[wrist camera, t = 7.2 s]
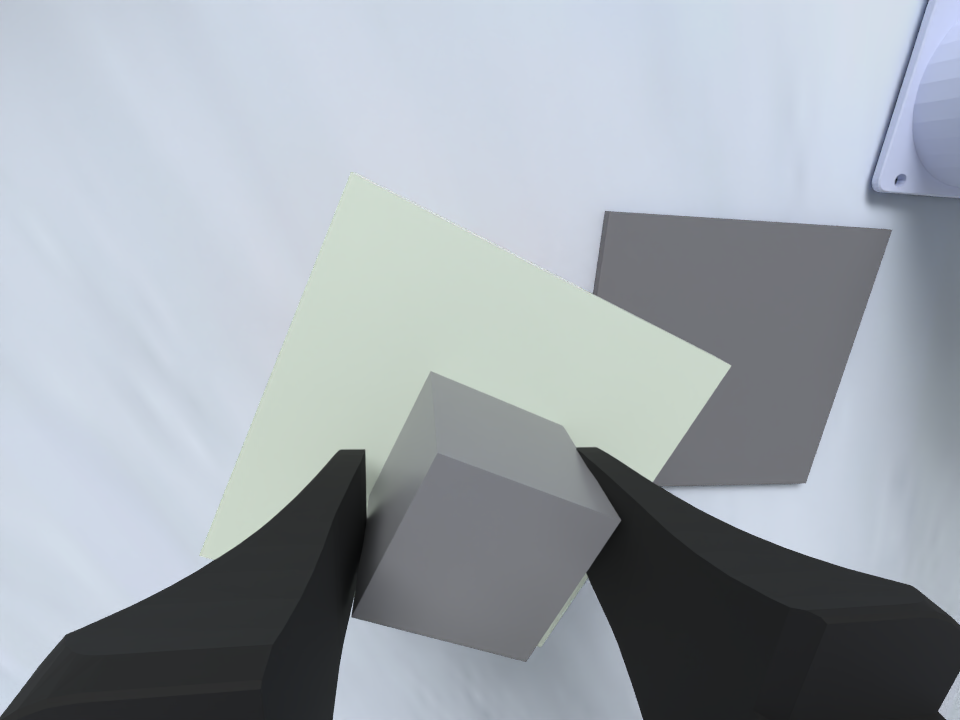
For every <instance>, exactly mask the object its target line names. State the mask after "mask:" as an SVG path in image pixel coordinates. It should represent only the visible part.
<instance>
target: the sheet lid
mask: <svg viewBox="0 0 960 720" xmlns="http://www.w3.org/2000/svg"><path fill="white" fill-rule="evenodd" d="M730 367H731V365H729V364H728V363H726V362H724V361H722V360H721V359H719V358H717V357H715V356H714V355H712V354H710V353H708V352H706V351H704V350H702V349H700V348H698V347H696V346H694V345H692V344H690V343H688V342H686V341H684V340H682V339H680V338H678V337H676V336H674V335H672V334H670V333H668V332H666V331H664V330H663V329H661V328H659V327H657V326H655V325H653V324H651V323H649V322H647V321H645V320H643V319H641V318H639V317H637V316H635V315H633V314H631V313H629V312H627V311H625V310H623V309H621V308H619V307H617V306H615V305H614V304H612V303H610V302H608V301H606V300H604V299H602V298H600V297H598V296H596V295H594V294H592V293H590V292H588V291H586V290H584V289H582V288H580V287H578V286H576V285H574V284H572V283H570V282H568V281H566V280H564V279H563V278H561V277H559V276H557V275H555V274H553V273H551V272H549V271H547V270H545V269H543V268H541V267H539V266H537V265H535V264H533V263H531V262H529V261H527V260H525V259H523V258H521V257H519V256H517V255H515V254H514V253H512V252H510V251H508V250H506V249H504V248H502V247H500V246H498V245H496V244H494V243H492V242H490V241H488V240H486V239H484V238H482V237H480V236H478V235H476V234H474V233H472V232H470V231H468V230H466V229H464V228H463V227H461V226H459V225H457V224H455V223H453V222H451V221H449V220H447V219H445V218H443V217H441V216H439V215H437V214H435V213H433V212H431V211H429V210H427V209H425V208H423V207H421V206H419V205H417V204H415V203H414V202H412V201H410V200H408V199H406V198H404V197H402V196H400V195H398V194H396V193H394V192H392V191H390V190H388V189H386V188H384V187H382V186H380V185H378V184H376V183H374V182H372V181H370V180H368V179H366V178H364V177H363V176H361V175H359V174H357V173H354V172H351V173H350V176H349V178H348V181H347V184H346V186H345V189H344V191H343V194H342V196H341V199H340V201H339V204H338V206H337V209H336V211H335V214H334V216H333V219H332V221H331V224H330V226H329V229H328V232H327V234H326V237H325V239H324V242H323V244H322V247H321V249H320V252H319V254H318V257H317V259H316V262H315V264H314V267H313V269H312V272H311V274H310V277H309V280H308V282H307V285H306V287H305V290H304V292H303V295H302V297H301V300H300V302H299V305H298V307H297V310H296V312H295V315H294V317H293V320H292V323H291V325H290V328H289V330H288V333H287V335H286V338H285V340H284V343H283V345H282V348H281V350H280V353H279V355H278V358H277V360H276V363H275V365H274V368H273V371H272V373H271V376H270V378H269V381H268V383H267V386H266V388H265V391H264V393H263V396H262V398H261V401H260V403H259V406H258V408H257V411H256V413H255V416H254V419H253V421H252V424H251V426H250V429H249V431H248V434H247V436H246V439H245V441H244V444H243V446H242V449H241V451H240V454H239V456H238V459H237V461H236V464H235V467H234V469H233V472H232V474H231V477H230V479H229V482H228V484H227V487H226V489H225V492H224V494H223V497H222V499H221V502H220V504H219V507H218V510H217V512H216V515H215V517H214V520H213V522H212V525H211V527H210V530H209V532H208V535H207V537H206V540H205V542H204V545H203V547H202V550H201V552H200V555H199V556H202V557H205V558H209V559H213V560H215V559H217V558H218V557H220V556H222V555H223V554H225V553H226V552H228V551H229V550H231V549H233V548H234V547H236V546H237V545H238V544H240V543H241V542H243V541H244V540H245V539H247V538H248V537H249V536H251V535H252V534H253V533H255V532H256V531H257V530H259V529H260V528H261V527H263V526H264V525H265V524H266V523H267V522H269V521H270V520H271V519H272V518H273V517H274V516H275V515H276V514H278V513H279V512H280V511H281V510H282V509H283V508H284V507H285V506H286V505H287V504H289V503H290V502H291V501H292V500H293V499H294V498H295V497H296V496H297V495H298V494H299V493H300V492H301V491H302V490H303V489H304V488H305V487H306V486H307V485H308V484H309V483H310V482H311V481H312V479H313V478H314V477H315V476H316V475H317V474H318V473H319V472H320V471H321V470H322V468H323V467H324V466H325V465H326V464H327V463H328V462H329V460H330V459H331V458H332V457H333V456H334V455H335V454H336V453H337V452H338V451H339V450H341V449H365V454H366V506H367V521H366V528H365V535H364V541H363V548H362V553H361V557H360V562H359V569H358V576H357V583H356V590H355V594H354V603H353V610H352V617H353V618H357V619H361V620H364V621H368V622H372V623H376V624H380V625H384V626H388V627H392V628H396V629H400V630H404V631H407V632H411V633H415V634H419V635H423V636H427V637H431V638H435V639H439V640H443V641H447V642H450V643H454V644H458V645H462V646H466V647H470V648H474V649H478V650H482V651H486V652H490V653H493V654H497V655H501V656H505V657H509V658H513V659H517V660H521V661H525V662H526V661H527V660H528V658H529V657H530V655H531V654H532V652H533V651H534V649H535V648H536V646H538V647H542V645H543V644H544V642H545V641H546V639H547V638H548V636H549V635H550V633H551V632H552V630H553V629H554V627H555V626H556V624H557V623H558V621H559V620H560V618H561V617H562V615H563V614H564V613H565V611H566V610H567V608H568V607H569V605H570V604H571V602H572V601H573V599H574V598H575V596H576V595H577V593H578V592H579V590H580V589H581V587H582V586H583V584H584V583H585V581H586V580H587V579H588V576H587V574H586V572H587V571H588V569H589V568H590V566H591V565H592V563H593V562H594V560H595V559H596V557H597V556H598V554H599V553H600V551H601V550H602V548H603V547H604V545H605V544H606V542H607V541H608V539H609V538H610V536H611V535H612V533H613V532H614V530H615V529H616V527H617V526H618V524H619V523H620V522H621V519H620V517H619V516H618V514H617V513H616V511H615V509H614V508H613V506H612V504H611V503H610V501H609V500H608V498H607V496H606V495H605V493H604V491H603V490H602V488H601V487H600V485H599V483H598V482H597V480H596V479H595V477H594V476H593V474H592V473H591V472H590V470H589V469H588V467H587V466H586V464H585V463H584V461H583V459H582V458H581V456H580V454H579V453H578V451H577V450H576V447H597V448H599V449H601V450H603V451H605V452H606V453H608V454H610V455H611V456H613V457H614V458H616V459H618V460H619V461H621V462H622V463H624V464H625V465H627V466H628V467H630V468H631V469H633V470H634V471H636V472H638V473H639V474H641V475H642V476H644V477H645V478H647V479H648V480H650V481H651V482H653V481H654V479H655V478H656V477H657V475H658V474H659V472H660V471H661V469H662V468H663V466H664V465H665V463H666V462H667V460H668V459H669V457H670V456H671V454H672V453H673V451H674V450H675V448H676V447H677V445H678V444H679V443H680V441H681V440H682V438H683V437H684V435H685V434H686V432H687V431H688V429H689V428H690V426H691V425H692V423H693V422H694V420H695V419H696V417H697V416H698V414H699V413H700V411H701V410H702V408H703V407H704V406H705V404H706V403H707V401H708V400H709V398H710V397H711V395H712V394H713V392H714V391H715V389H716V388H717V386H718V385H719V383H720V382H721V380H722V379H723V377H724V376H725V374H726V373H727V372H728V370H729V369H730Z"/></svg>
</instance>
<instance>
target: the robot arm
mask: <svg viewBox="0 0 960 720" xmlns="http://www.w3.org/2000/svg"><path fill="white" fill-rule="evenodd" d="M896 177H898V179H897V182H896V184H895V179H896ZM872 187H873V189H874V190H875V191H877V192H884V193H897V194H910V195H923V196H936V197H949V198H960V0H929V2H928V5H927V8H926V11H925V14H924V17H923V21H922V24H921V27H920V30H919V33H918V36H917V40H916V43H915V46H914V49H913V52H912V55H911V59H910V62H909V65H908V68H907V71H906V74H905V77H904V81H903V84H902V87H901V90H900V93H899V96H898V100H897V103H896V106H895V109H894V112H893V115H892V119H891V122H890V125H889V128H888V131H887V134H886V137H885V141H884V144H883V147H882V150H881V153H880V156H879V160H878V163H877V166H876V169H875V172H874V175H873V179H872ZM576 450H577V451H578V453H579V454H580V456H581V458H582V459H583V461H584V463H585V464H586V466H587V467H588V469H589V470H590V472H591V473H592V474H593V476H594V477H595V479H596V480H597V482H598V483H599V485H600V487H601V488H602V490H603V491H604V493H605V495H606V496H607V498H608V500H609V501H610V503H611V504H612V506H613V508H614V509H615V511H616V513H617V514H618V516H619V517H620V519H621V522H620V523H619V524H618V526H617V527H616V529H615V530H614V532H613V533H612V535H611V536H610V538H609V539H608V541H607V542H606V544H605V545H604V547H603V548H602V550H601V551H600V553H599V554H598V556H597V557H596V559H595V560H594V562H593V563H592V565H591V566H590V568H589V569H588V571H587V572H586V574H587V576H588V578H589V580H590V583H591V585H592V587H593V589H594V591H595V593H596V595H597V598H598V600H599V602H600V604H601V606H602V608H603V611H604V613H605V615H606V617H607V619H608V621H609V624H610V626H611V628H612V631H613V633H614V635H615V638H616V640H617V643H618V645H619V648H620V651H621V654H622V657H623V660H624V663H625V665H626V668H627V671H628V674H629V677H630V680H631V683H632V686H633V689H634V692H635V695H636V698H637V701H638V704H639V708H640V711H641V714H642V717H643V720H946V719H945V718H944V717H943V716H942V715H941V714H940V713H939V712H938V710H939V708H940V706H941V704H942V703H943V701H944V699H945V697H946V695H947V694H948V692H949V690H950V688H951V686H952V684H953V683H954V681H955V679H956V677H957V675H958V674H959V672H960V625H959V624H958V623H957V622H956V621H955V620H954V619H953V618H952V617H951V616H949V615H948V614H947V613H946V612H944V611H943V610H942V609H941V608H940V607H938V606H937V605H936V604H935V603H933V602H932V601H931V600H930V599H928V598H927V597H926V596H925V595H923V594H922V593H921V592H920V591H919V590H917V589H916V588H914V587H913V586H911V585H907V584H903V583H900V582H896V581H892V580H888V579H884V578H881V577H877V576H873V575H869V574H866V573H862V572H858V571H854V570H850V569H847V568H844V567H840V566H837V565H834V564H831V563H828V562H825V561H822V560H819V559H815V558H812V557H809V556H806V555H803V554H801V553H798V552H795V551H792V550H789V549H787V548H784V547H781V546H779V545H776V544H774V543H771V542H769V541H766V540H764V539H761V538H759V537H756V536H754V535H751V534H749V533H747V532H745V531H742V530H740V529H738V528H736V527H733V526H731V525H729V524H727V523H725V522H723V521H721V520H719V519H717V518H715V517H713V516H711V515H709V514H707V513H705V512H703V511H701V510H699V509H697V508H695V507H694V506H692V505H690V504H688V503H687V502H685V501H683V500H681V499H680V498H678V497H676V496H674V495H673V494H671V493H669V492H668V491H666V490H664V489H663V488H661V487H659V486H658V485H656V484H655V483H653V482H651V481H650V480H648V479H647V478H645V477H644V476H642V475H641V474H639V473H638V472H636V471H634V470H633V469H631V468H630V467H628V466H627V465H625V464H624V463H622V462H621V461H619V460H618V459H616V458H614V457H613V456H611V455H610V454H608V453H606V452H605V451H603V450H601V449H599V448H597V447H576ZM366 521H367V506H366V454H365V449H341V450H339V451H338V452H337V453H336V454H335V455H334V456H333V457H332V458H331V459H330V460H329V462H328V463H327V464H326V465H325V466H324V467H323V468H322V470H321V471H320V472H319V473H318V474H317V475H316V476H315V477H314V478H313V479H312V481H311V482H310V483H309V484H308V485H307V486H306V487H305V488H304V489H303V490H302V491H301V492H300V493H299V494H298V495H297V496H296V497H295V498H294V499H293V500H292V501H291V502H290V503H289V504H287V505H286V506H285V507H284V508H283V509H282V510H281V511H280V512H279V513H278V514H276V515H275V516H274V517H273V518H272V519H271V520H270V521H269V522H267V523H266V524H265V525H264V526H263V527H261V528H260V529H259V530H257V531H256V532H255V533H253V534H252V535H251V536H249V537H248V538H247V539H245V540H244V541H243V542H241V543H240V544H238V545H237V546H236V547H234V548H233V549H231V550H229V551H228V552H226V553H225V554H223V555H222V556H220V557H218V558H217V559H215V560H214V561H212V562H211V563H209V564H207V565H206V566H204V567H203V568H201V569H200V570H198V571H196V572H195V573H193V574H191V575H189V576H188V577H186V578H184V579H182V580H180V581H179V582H177V583H175V584H173V585H172V586H170V587H168V588H166V589H164V590H162V591H160V592H158V593H156V594H154V595H152V596H150V597H148V598H146V599H144V600H142V601H140V602H138V603H136V604H134V605H132V606H130V607H128V608H126V609H123V610H121V611H119V612H117V613H114V614H112V615H110V616H108V617H105V618H103V619H101V620H99V621H97V622H94V623H92V624H90V625H88V626H85V627H83V628H81V629H78V630H76V631H74V632H71V633H69V634H66V635H65V636H64V638H63V639H62V640H61V641H60V642H59V643H58V645H57V646H56V647H55V648H54V649H53V650H52V652H51V653H50V654H49V655H48V656H47V657H46V658H45V660H44V661H43V662H42V663H41V664H40V666H39V667H38V668H37V670H36V671H35V672H34V674H33V675H32V676H31V678H30V679H29V680H28V681H27V683H26V684H25V685H24V687H23V688H22V689H21V691H20V692H19V693H18V695H17V696H16V697H15V699H14V700H13V701H12V702H11V704H10V705H9V706H8V708H7V709H6V710H5V711H4V713H3V714H2V715H1V717H0V720H333V712H334V704H335V696H336V688H337V681H338V673H339V665H340V659H341V654H342V648H343V643H344V638H345V634H346V630H347V625H348V621H349V616H350V612H351V607H352V603H353V599H354V594H355V590H356V583H357V576H358V569H359V562H360V557H361V553H362V548H363V541H364V535H365V528H366Z"/></svg>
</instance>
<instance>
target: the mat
mask: <svg viewBox="0 0 960 720" xmlns="http://www.w3.org/2000/svg"><path fill="white" fill-rule="evenodd" d="M891 231H892V230H888V229H875V228H860V227H844V226H829V225H813V224H798V223H782V222H766V221H751V220H735V219H720V218H704V217H689V216H673V215H657V214H642V213H626V212H611V211H605V216H604V223H603V229H602V236H601V243H600V250H599V257H598V264H597V271H596V278H595V285H594V292H593V294H594V295H596V296H598V297H600V298H602V299H604V300H606V301H608V302H610V303H612V304H614V305H615V306H617V307H619V308H621V309H623V310H625V311H627V312H629V313H631V314H633V315H635V316H637V317H639V318H641V319H643V320H645V321H647V322H649V323H651V324H653V325H655V326H657V327H659V328H661V329H663V330H664V331H666V332H668V333H670V334H672V335H674V336H676V337H678V338H680V339H682V340H684V341H686V342H688V343H690V344H692V345H694V346H696V347H698V348H700V349H702V350H704V351H706V352H708V353H710V354H712V355H714V356H715V357H717V358H719V359H721V360H722V361H724V362H726V363H728V364H729V365H731V367H730V369H729V370H728V372H727V373H726V374H725V376H724V377H723V379H722V380H721V382H720V383H719V385H718V386H717V388H716V389H715V391H714V392H713V394H712V395H711V397H710V398H709V400H708V401H707V403H706V404H705V406H704V407H703V408H702V410H701V411H700V413H699V414H698V416H697V417H696V419H695V420H694V422H693V423H692V425H691V426H690V428H689V429H688V431H687V432H686V434H685V435H684V437H683V438H682V440H681V441H680V443H679V444H678V445H677V447H676V448H675V450H674V451H673V453H672V454H671V456H670V457H669V459H668V460H667V462H666V463H665V465H664V466H663V468H662V469H661V471H660V472H659V474H658V475H657V477H656V478H655V479H654V481H653V483H655V484H656V485H658V486H697V485H745V484H793V483H806V481H807V478H808V475H809V472H810V469H811V466H812V463H813V460H814V457H815V454H816V452H817V449H818V446H819V443H820V440H821V437H822V434H823V431H824V428H825V425H826V422H827V419H828V416H829V413H830V410H831V408H832V405H833V402H834V399H835V396H836V393H837V390H838V387H839V384H840V381H841V378H842V375H843V372H844V369H845V366H846V363H847V361H848V358H849V355H850V352H851V349H852V346H853V343H854V340H855V337H856V334H857V331H858V328H859V325H860V322H861V319H862V317H863V314H864V311H865V308H866V305H867V302H868V299H869V296H870V293H871V290H872V287H873V284H874V281H875V278H876V275H877V272H878V270H879V267H880V264H881V261H882V258H883V255H884V252H885V249H886V246H887V243H888V240H889V237H890V234H891Z"/></svg>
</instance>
